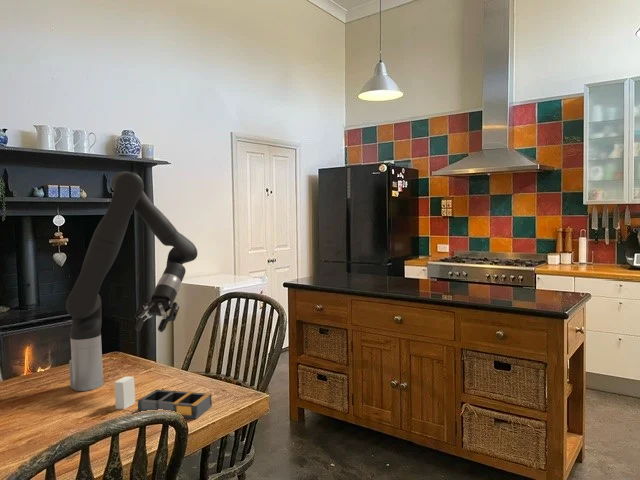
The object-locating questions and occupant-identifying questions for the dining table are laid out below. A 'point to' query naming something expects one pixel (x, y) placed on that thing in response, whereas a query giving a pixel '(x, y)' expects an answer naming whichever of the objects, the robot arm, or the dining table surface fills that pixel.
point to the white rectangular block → (124, 392)
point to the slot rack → (177, 402)
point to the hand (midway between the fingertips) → (148, 330)
